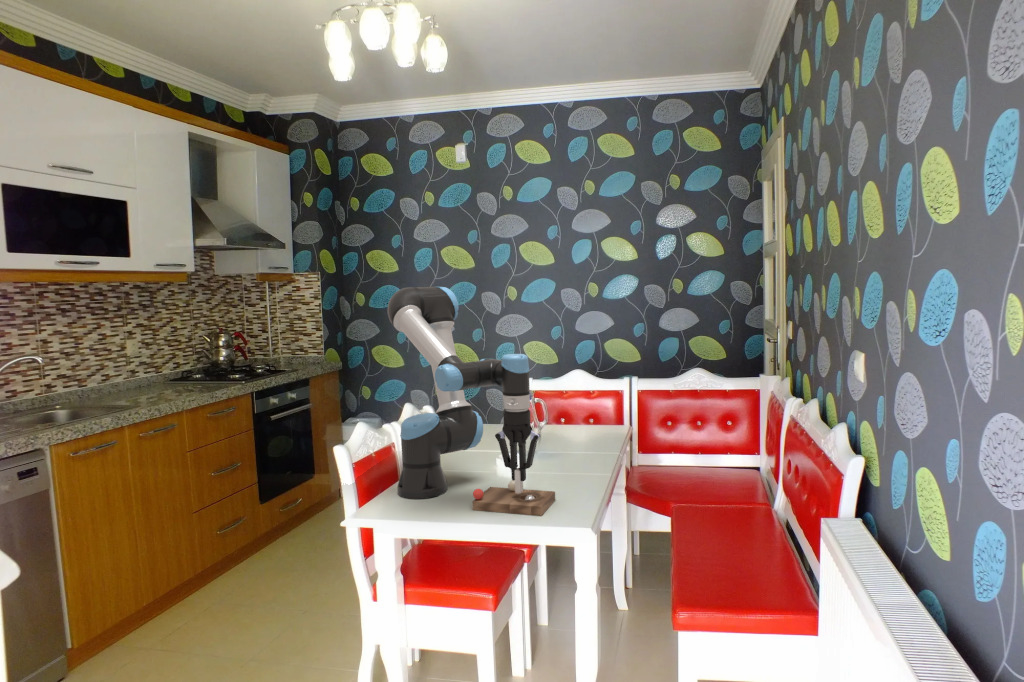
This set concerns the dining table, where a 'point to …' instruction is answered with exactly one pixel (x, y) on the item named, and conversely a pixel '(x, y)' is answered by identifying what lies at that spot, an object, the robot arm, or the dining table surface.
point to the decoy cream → (511, 485)
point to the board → (514, 501)
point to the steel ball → (529, 497)
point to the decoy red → (478, 494)
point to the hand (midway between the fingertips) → (519, 491)
